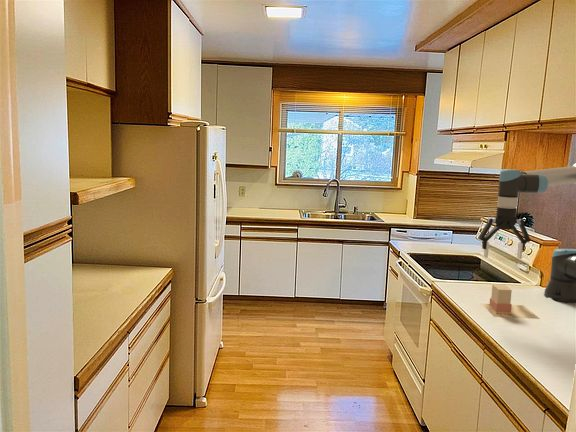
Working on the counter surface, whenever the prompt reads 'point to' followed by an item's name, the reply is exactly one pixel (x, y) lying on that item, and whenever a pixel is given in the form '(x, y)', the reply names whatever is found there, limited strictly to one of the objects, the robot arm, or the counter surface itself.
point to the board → (514, 312)
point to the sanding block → (501, 299)
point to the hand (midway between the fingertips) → (502, 257)
